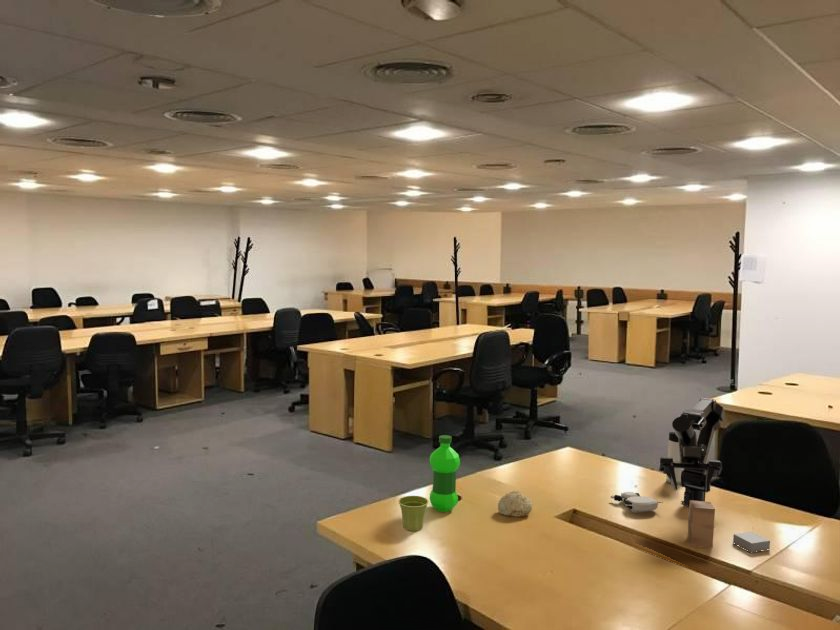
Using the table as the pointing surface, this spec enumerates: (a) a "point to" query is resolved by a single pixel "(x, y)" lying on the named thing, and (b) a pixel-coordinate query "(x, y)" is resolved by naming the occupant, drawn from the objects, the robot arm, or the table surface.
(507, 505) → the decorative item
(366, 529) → the table surface
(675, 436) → the travel mug
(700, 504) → the walnut block
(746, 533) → the base slab
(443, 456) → the plastic bottle
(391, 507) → the table surface
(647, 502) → the robot toy
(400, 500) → the plant pot
